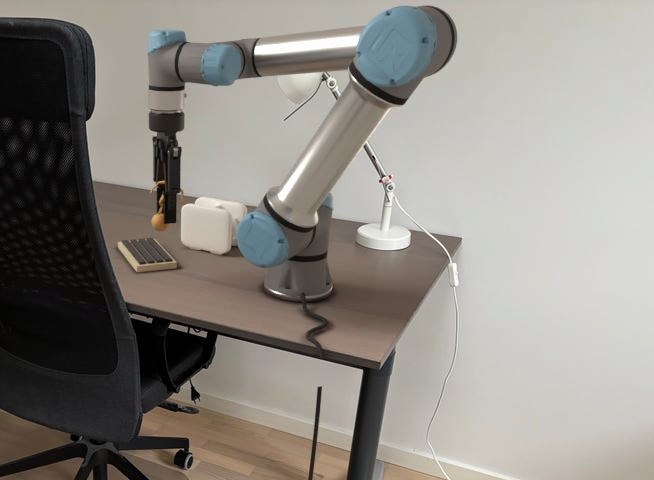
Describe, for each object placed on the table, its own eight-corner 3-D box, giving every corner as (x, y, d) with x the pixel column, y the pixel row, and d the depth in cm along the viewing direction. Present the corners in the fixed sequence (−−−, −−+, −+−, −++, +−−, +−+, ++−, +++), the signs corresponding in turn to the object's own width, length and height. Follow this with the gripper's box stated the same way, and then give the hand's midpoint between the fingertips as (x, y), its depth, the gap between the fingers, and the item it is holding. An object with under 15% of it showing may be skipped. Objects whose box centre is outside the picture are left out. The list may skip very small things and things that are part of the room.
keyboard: (176, 268, 179) (176, 259, 178) (136, 272, 177) (136, 263, 176) (154, 244, 195) (154, 236, 194) (117, 247, 193) (117, 239, 192)
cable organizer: (177, 246, 194) (177, 203, 189) (198, 236, 202) (199, 194, 196) (227, 257, 187) (229, 212, 181) (247, 246, 195) (249, 202, 189)
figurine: (138, 227, 166) (145, 178, 159) (151, 216, 171) (158, 168, 163) (171, 239, 164) (179, 191, 156) (183, 229, 169) (191, 181, 161)
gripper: (197, 116, 148) (195, 229, 159) (171, 103, 163) (170, 207, 174) (161, 118, 146) (161, 232, 157) (138, 105, 161) (139, 210, 172)
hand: (166, 219), depth 165 cm, fingers open, 5 cm apart
